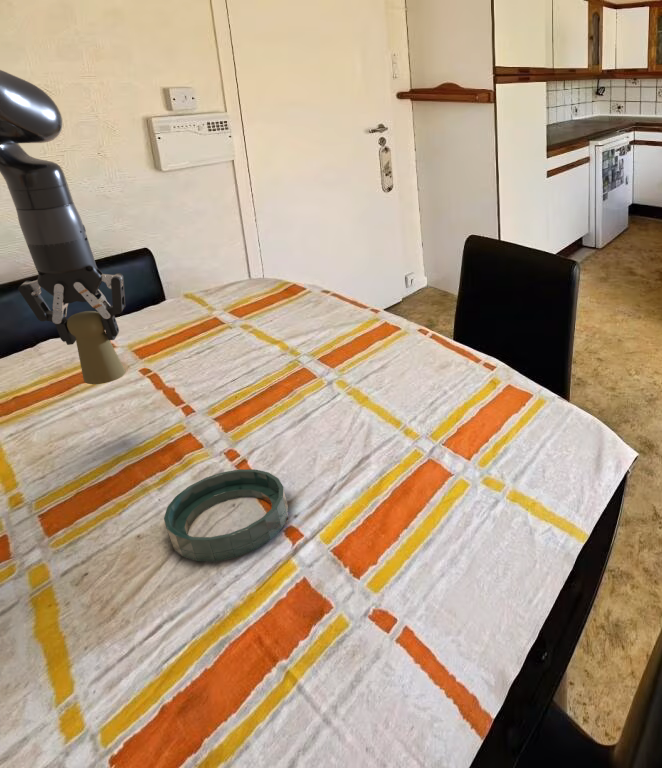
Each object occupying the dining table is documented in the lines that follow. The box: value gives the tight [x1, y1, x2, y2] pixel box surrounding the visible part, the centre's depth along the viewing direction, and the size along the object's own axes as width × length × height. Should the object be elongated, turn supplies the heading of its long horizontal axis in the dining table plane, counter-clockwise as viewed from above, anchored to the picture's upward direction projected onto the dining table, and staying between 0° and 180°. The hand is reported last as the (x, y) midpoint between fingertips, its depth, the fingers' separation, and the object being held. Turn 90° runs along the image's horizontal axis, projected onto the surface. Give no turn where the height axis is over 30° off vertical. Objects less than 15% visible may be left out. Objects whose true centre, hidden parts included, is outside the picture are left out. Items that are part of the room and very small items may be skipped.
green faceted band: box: [163, 468, 289, 562], centre depth 87 cm, size 15×15×5 cm
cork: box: [67, 310, 127, 385], centre depth 101 cm, size 6×6×11 cm
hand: (92, 340), depth 100 cm, fingers closed on cork, 5 cm apart
